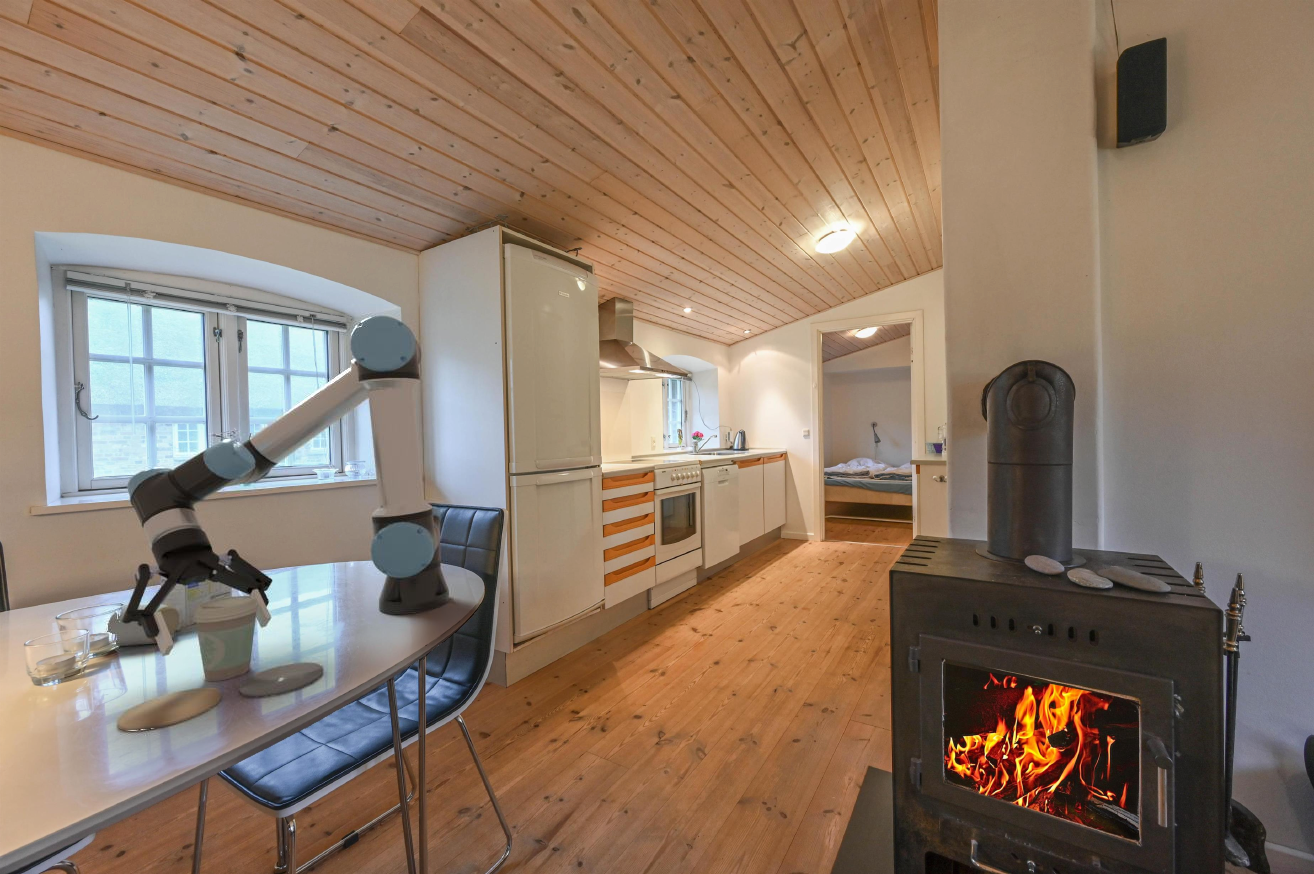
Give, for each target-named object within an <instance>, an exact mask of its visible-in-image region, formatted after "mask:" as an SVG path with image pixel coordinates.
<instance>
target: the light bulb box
mask: <svg viewBox="0 0 1314 874" xmlns="http://www.w3.org/2000/svg"><path fill="white" fill-rule="evenodd" d="M225 567H226V568H227V569H228V570H231V569H230V568H229V567H228V566H225ZM231 571H232V570H231ZM213 574H216V571H215V570H214V571H213ZM166 580H167V579H166V578H164V577H162V576H160V588H161V587H162V586H163V584H164V583H165V582H166ZM232 589H233V588H232V587H229V586H227V585H224V584H222V583H220V582H212V581H210V580H206V581H204V582H198V583H192V584H189V585H185V586H183V585H181V584H176V586H175V587H174V588H173V590H172V591H171V592H170V593H169V594H168V596H167V597H166V598H165V600H164V601H163V602H162V604H161V605H167V606H172V607H174V608H176V610H177V611H178V613H179V623H182V625H181V628H183V627H184V628H185V627H188V626H191V625H194V624H195V625H196V622H194V621H193V619H194V614H195V613H196V610H197V607H198V606H199V605H201V604H204V603H206V602H209V601H213V600H217V599H222V598H228V597H233V596H232V595H233V594H232V593H233V591H232Z"/></svg>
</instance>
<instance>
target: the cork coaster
mask: <svg viewBox="0 0 1314 874" xmlns="http://www.w3.org/2000/svg"><path fill="white" fill-rule="evenodd" d="M221 700H222V691H221V689H217V688H216V687H215V688H213V687H198V688H197V687H196V688H190V689H185V690H179V691H174V692H170V693H167V694H164V695H160V696H157V697H154V698H152V699H149V700H146V701H143V702H141V703H139V704H137V705H136V706H133V707H131V708H130V709H127V710H126V711H125V712H123V713H122V714H121V715H120V716H119V717H118V718H117V727H118V729H119V730H121V729H122V730H121V731H124V730H141V729H151V728H157V729H160V728H159V727H161V728H164V726H165V727H168V726H172V725H175V724H180V723H182V722H185V721H188V720H191V719H192V718H195V717H197V716H200V715H202V714H204V713H205V712H208V711H209V710H211V709H213V708H214V707H216V706H217V705H218V704H219V703H220V702H221ZM151 730H152V729H151Z"/></svg>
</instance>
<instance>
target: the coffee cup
mask: <svg viewBox="0 0 1314 874" xmlns="http://www.w3.org/2000/svg"><path fill="white" fill-rule="evenodd" d="M258 609H259V608H258V604H257V603H256V601H255V598H254V597H252V596H250V595H236V596H232V597H228V598H222V599H217V600H213V601H209V602H206V603H204V604H201V605H199V606H198V607H197V610H196V613H195V614H194V619H193V621H194V622H196V623H195V625H196V626H195V628H196V633H197V638H198V644H199V645H198V646H199V650H200V657H201V663H202V668H203V674H204V675H203V676H204V679H205V681H209V682H219V681H225V680H229V679H232V678H236V677H239V676H242V675H244V674H245V673H247V672H248V671H249V669H250V667H251V660H252V654H253V644H254V643H253V642H254V635H255V628H256V620H257V618H256V611H257V610H258Z"/></svg>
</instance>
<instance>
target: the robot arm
mask: <svg viewBox="0 0 1314 874" xmlns="http://www.w3.org/2000/svg"><path fill="white" fill-rule="evenodd" d="M415 337H416V336H415V335H414V333H413V331H412V330H411V328H410V327H409V326H408V325H406V324H405V323H404V322H403V321H400V320H399V319H397V318H394V317H392V316H387V315H373V316H370V317H367V318H365V319H363V320H361V321H360V322H359V323H358V324H357V325H356V326H355V327H354V329H353V330H352V331H351V335H350V339H349V347H350V351H351V354H352V356H353V359H352V360H351V363H350V367H349V368H348V369H346V370H345V371H343V372H342V373H341V374H339V375H337V376H336V377H335V378H333V379H331V380H330V381H329V382H327V384H325V385H323V386H322V387H321V388H319V389H318V390H315V392H313V393H312V394H310V395H309V396H308V397H306V398H305V399H304V400H302V401H301V402H299V403H297V404H296V405H295V406H293V407H292V408H290V409H289V410H288V411H287V412H285V413H283V414H282V415H280V416H279V417H277V418H276V419H275V420H273V421H272V422H271V423H269V424H268V425H267V426H265V427H264V428H262V429H261V430H259V431H258V432H256V433H255V434H254V435H252V436H251V437H249V438H248V439H247V440H246V441H243V442H242V443H241V442H238V441H237V440H235V439H231V438H230V439H229V438H227V439H224V440H221V441H219V442H218V443H216V444H214V445H210V446H208V447H207V448H206V449H204V451H201V452H199V453H198V454H196V455H195V456H193V457H191V458H190V459H188V460H186V461H185V462H183V463H181V464H180V465H178V466H176V467H175V468H173V469H171V468H170V467H164V466H163V467H160V466H159V467H158V466H157V467H152V468H151V469H148V470H142V471H139V472H138V473H136V474H135V475H133V476H132V477H130V479H129V480H128V482H127V487H126V488H127V492H128V495H129V502H130V504H131V506H132V507H133V509H134V511H135V513H136V515H137V517H138V520H139V522H140V524H141V527H142V529H143V532H144V535H145V537H146V540H147V543H148V545H149V547H150V549H151V553H152V554H153V558H154V559H155V561H156V562H155V563H156V564H157V565H153V566H152V565H151V566H150V565H149V564H148V563H141V564H139V566H138V568H137V570H136V572H135V574H134V578H135V587H134V589H133V592H132V594H131V596H130V599H129V602H128V604H127V605H128V607H127V609H126V612H125V614H124V617H123V619H122V622H123V623H126V624H127V623H130V622H135V621H136V622H138V623H137V624H138V625H139V626H142V627H143V629H144V632H145V634H146V637H148V638H153V637H155V638H156V641H157V643H156V644H157V646H158V649H159V651H160V653H161V656H162V657H165V656H169V654H170V653H171V651H172V649H173V648H174V646H175V644H174V643H175V642H174V641H173V639H172V636H170V633H169V631H168V628H167V626H166V623H165V621H164V618H163V616H162V613H161V611H160V612H156V610H157V609H158V608H159V606H160V605H161V604H162V602H163V601H164V600H165V598H166V597H167V596H168V594H169V593H170V592H171V591H172V590H173V588H174V587H175V586H176V584H181V585H183V586H185V585H189V584H192V583H198V582H204V581H206V580H210V581H212V582H220V583H222V584H224V585H227V586H229V587H232V589H235V590H237V591H239V592H240V593H241V592H242V593H244V594H246V595H248V596H252V597H254V598H255V601H256V603H257V604H258V608H259V609H258V610H257V611H256V620H257V622H258V624H259V626H260V628H261V629H262V628H265V627H267V626H268V624H269V622H270V621H271V619H272V616H271V614H270V612H269V610H268V608H267V607H268V605H269V603H270V600H269V599H268V595H267V594H266V591H268V589H269V588H270V587H271V585H272V583H273V579H272V578H271V577H270V576H269V575H267V574H265V573H264V572H262V571H261V570H259V569H258V568H256V567H255V566H253V565H252V564H251V563H249V562H248V561H246V560H245V559H244V558H242V557H241V556H240V554H239V553H238V552H237V550H236V549H233V548H231V549H229V550H228V551H227V553H221V554H218V553H215V552H214V550H213V547H212V544H211V541H210V540H209V538H208V536H207V534H206V532H205V529H204V527H203V525H202V523H201V520H200V518H199V516H198V514H197V512H196V510H195V506H196V505H197V504H199V503H200V502H203V501H204V500H206V499H207V498H209V497H210V496H212V495H214V494H216V493H217V492H219V491H221V490H222V489H224V488H227V487H233V486H239V485H245V484H246V485H248V484H254V483H256V482H258V481H261V480H264V478H266V477H267V476H268V475H269V473H270V472H271V470H272V469H274V468H275V467H276V466H277V465H278V464H279V463H281V462H282V461H283V460H285V459H286V458H288V457H289V456H290V455H291V454H293V453H294V452H296V451H297V450H299V449H300V448H302V447H303V446H304V445H306V443H307V444H308V442H309V441H311V440H312V439H314V438H315V437H316V436H318V435H319V434H321V433H322V432H323V431H325V430H326V429H328V428H329V427H330V426H332V425H333V424H334V423H336V422H337V421H339V420H340V419H342V418H343V417H344V416H346V415H347V414H348V413H350V412H352V411H353V410H354V409H355V408H357V407H359V406H360V405H361V404H362V403H364V402H365V401H366V400H368V404H369V405H368V406H369V415H370V426H371V434H372V435H371V436H372V445H373V446H372V447H373V457H374V466H375V478H376V486H377V487H376V488H377V497H378V507H377V508H376V509H375V510H374V511H373V512H372V514H371V520H372V523H371V524H372V532H373V539H372V541H371V544H370V557H371V562H372V563H373V565H374V566H375V568H376V569H378V571H380V572H381V573H382V574H384V575H385V576H386V577H385V579H384V583H383V586H382V589H381V592H380V594H379V598H378V599H379V600H378V610H379V611H380V612H382V613H384V612H385V614H392V615H400V614H401V615H402V614H403V615H404V614H405V613H406V614H412V613H413V612H415V613H420V611H421V612H425V610H426V611H430V610H432V608H433V609H436V608H439V607H442V606H443V604H444V603H445V604H447V603H448V602H449V601H450V590H449V587H448V584H447V581H446V579H445V578H446V577H445V576H444V573H443V572H442V563H441V562H442V561H441V560H442V559H441V556H442V555H441V521H442V518H441V513H440V509H439V508H438V507H437V506H433V505H430V504H429V503H428V502H427V501H426V500H425V499H424V490H423V489H424V487H423V480H422V479H423V477H422V470H421V469H422V467H421V459H420V457H421V456H420V447H419V435H418V426H417V417H416V416H417V415H416V406H415V405H416V404H415V396H414V394H415V393H414V390H415V388H416V387H417V386H418V385H419V384H420V382H421V379H420V377H421V376H420V368H419V367H420V363H421V361H422V351H421V350H422V349H421V347H420V344H419V342H418V341H417V339H416V338H415ZM225 566H228V567H229V568H230V569H231V570H228V569H227V568H226V567H225ZM214 570H215V571H216V574H213V571H214ZM155 575H158V576H160V577H164V578H166V579H167V580H166V582H165V583H164V584H163V586H162V587H161V586H160V588H159V589H158V591H157V592H156V594H154V596H153V598H151V599H150V601H149V602H148V604H146V605H147V606H146V607H145V609H144V610H138V607H139V605H141V602H142V599H143V596H144V594H145V592H146V588H147V586H148V583H149V582H150V580H152V579H153V578H154V576H155ZM448 600H449V601H448ZM447 601H448V602H447ZM446 602H447V603H446ZM445 604H444V605H445ZM441 605H442V606H441ZM438 606H439V607H438ZM435 607H436V608H435ZM429 609H430V610H429Z"/></svg>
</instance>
